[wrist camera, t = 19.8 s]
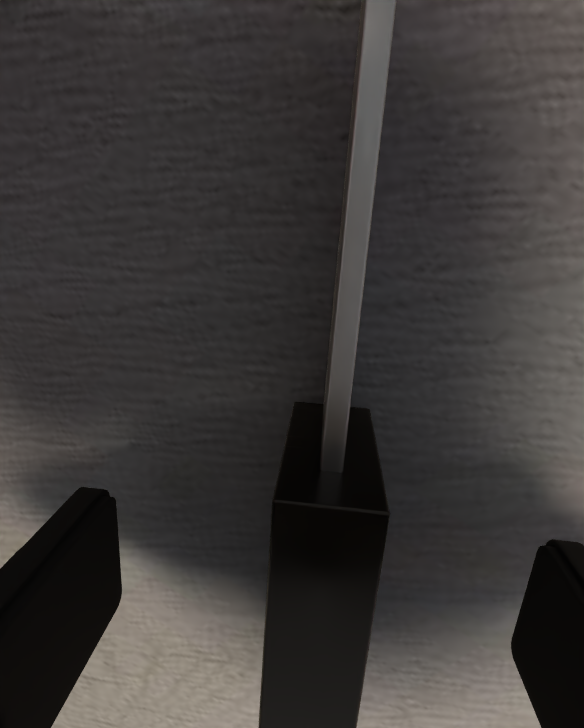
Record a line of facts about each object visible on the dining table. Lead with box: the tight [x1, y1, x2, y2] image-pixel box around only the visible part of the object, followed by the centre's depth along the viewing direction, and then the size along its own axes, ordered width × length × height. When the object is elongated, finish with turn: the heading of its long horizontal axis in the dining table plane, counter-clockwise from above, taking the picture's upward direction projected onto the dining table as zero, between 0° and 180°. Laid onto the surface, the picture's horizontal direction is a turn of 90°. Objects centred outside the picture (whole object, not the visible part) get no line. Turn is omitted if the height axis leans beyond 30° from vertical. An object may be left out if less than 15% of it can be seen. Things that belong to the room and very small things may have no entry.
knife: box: [259, 0, 397, 728], centre depth 8 cm, size 16×2×4 cm, turn 176°
